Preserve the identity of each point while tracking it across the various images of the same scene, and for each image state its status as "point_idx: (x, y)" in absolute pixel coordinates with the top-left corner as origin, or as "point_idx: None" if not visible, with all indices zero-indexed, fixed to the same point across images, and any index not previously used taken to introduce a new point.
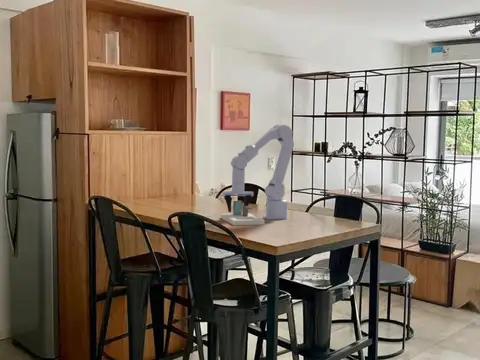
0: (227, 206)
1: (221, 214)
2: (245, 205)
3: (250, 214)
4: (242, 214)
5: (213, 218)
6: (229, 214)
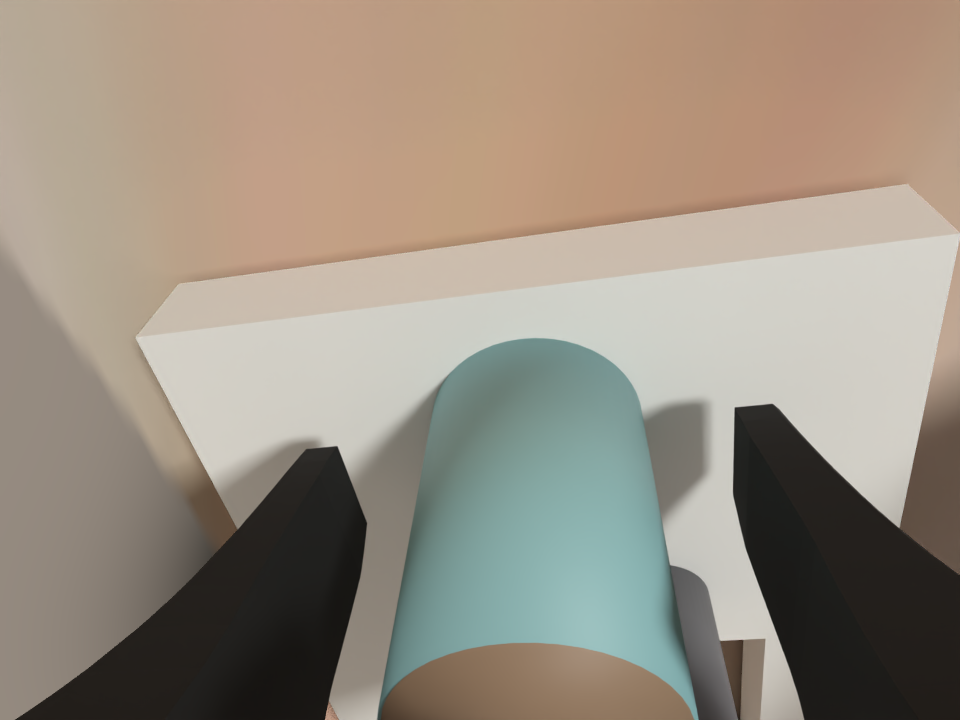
0: (233, 535)
1: (162, 369)
2: (791, 630)
3: (864, 439)
4: (659, 438)
5: (29, 283)
6: (348, 439)
